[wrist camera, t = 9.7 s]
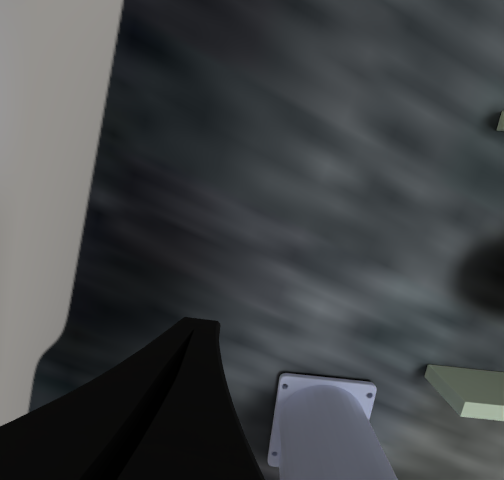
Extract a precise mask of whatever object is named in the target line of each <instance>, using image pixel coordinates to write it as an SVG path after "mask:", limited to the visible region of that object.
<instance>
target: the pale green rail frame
mask: <svg viewBox="0 0 504 480" xmlns="http://www.w3.org/2000/svg"><path fill="white" fill-rule="evenodd" d="M496 131H504V111H502V113H501V116H500V120H499V123H498V126H497V130H496ZM424 377H425V378H426V379H427V380H428V381H429V383H430V384H431V385H432V386H433V387H434V388H435V389H436V390H437V391H438V392H439V394H440V395H441V396H442V397H443V398H444V399H445V400H446V401H447V402H448V403H449V405H450V406H451V407H452V408H453V409H454V410H455V411H456V412H457V413H458V414H459V416H461V417H470V418H480V419H489V420H499V421H504V372H496V371H487V370H477V369H468V368H458V367H449V366H439V365H429V364H428V366H427V369H426V373H425V376H424Z"/></svg>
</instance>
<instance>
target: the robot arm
mask: <svg viewBox="0 0 504 480" xmlns="http://www.w3.org/2000/svg"><path fill="white" fill-rule="evenodd" d="M219 333H220V323H219V322H218V321H213V320H205V319H197V318H188V317H184V318H183V319H181V320H180V321H179V322H177V323H176V324H175V325H173V326H172V327H171V328H169V329H168V330H167V331H165V332H164V333H163V334H162V335H160V336H159V337H158V338H156V339H155V340H153V341H152V342H151V343H149V344H148V345H147V346H145V347H144V348H142V349H141V350H139V351H138V352H136V353H135V354H133V355H132V356H130V357H129V358H127V359H126V360H124V361H123V362H121V363H120V364H118V365H117V366H115V367H114V368H112V369H110V370H109V371H107V372H105V373H104V374H102V375H100V376H99V377H97V378H95V379H93V380H92V381H90V382H88V383H86V384H84V385H83V386H81V387H79V388H77V389H75V390H74V391H72V392H70V393H68V394H66V395H64V396H62V397H60V398H58V399H56V400H54V401H52V402H50V403H48V404H46V405H44V406H42V407H40V408H38V409H36V410H34V411H32V412H30V413H28V414H26V415H24V416H21V417H19V418H17V419H15V420H13V421H11V422H9V423H7V424H5V425H3V426H0V480H265V479H264V477H263V475H262V473H261V470H260V468H259V466H258V464H257V462H256V459H255V457H254V455H253V453H252V450H251V448H250V446H249V444H248V441H247V439H246V437H245V435H244V432H243V430H242V427H241V424H240V422H239V419H238V416H237V414H236V411H235V408H234V405H233V402H232V399H231V396H230V393H229V389H228V386H227V382H226V378H225V374H224V370H223V365H222V360H221V354H220V347H219ZM283 384H287V385H283ZM376 391H377V388H376V386H375V385H374V383H372V382H367V381H358V380H348V379H339V378H329V377H320V376H310V375H301V374H291V373H283V374H281V375H280V377H279V383H278V390H277V397H276V404H275V410H274V417H273V424H272V431H271V438H270V444H269V451H268V464H269V465H270V466H272V467H279V473H280V480H398V479H397V477H396V475H395V473H394V471H393V469H392V467H391V465H390V463H389V461H388V459H387V457H386V455H385V453H384V451H383V449H382V447H381V445H380V443H379V441H378V438H377V436H376V434H375V432H374V430H373V428H372V426H371V424H370V422H369V419H370V415H371V411H372V407H373V403H374V399H375V395H376ZM368 393H369V394H368Z"/></svg>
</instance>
